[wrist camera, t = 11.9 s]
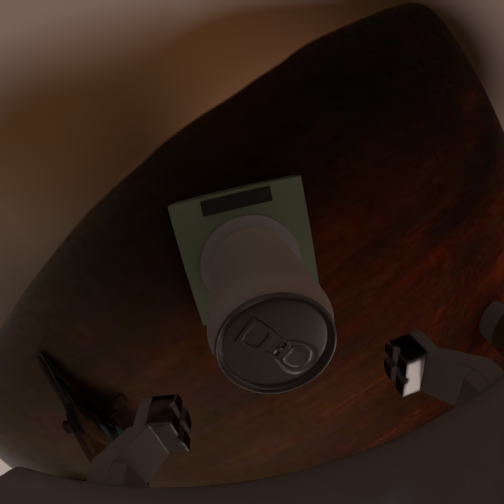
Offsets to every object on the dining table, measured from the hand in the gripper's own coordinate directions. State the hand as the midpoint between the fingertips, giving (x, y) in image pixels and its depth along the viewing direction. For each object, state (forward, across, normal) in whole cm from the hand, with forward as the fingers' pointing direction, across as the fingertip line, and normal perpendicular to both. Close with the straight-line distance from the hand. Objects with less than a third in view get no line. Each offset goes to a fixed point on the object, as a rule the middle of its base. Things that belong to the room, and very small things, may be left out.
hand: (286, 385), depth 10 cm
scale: (+18, 0, 0) cm, 18 cm away
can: (+15, 0, 0) cm, 15 cm away
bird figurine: (+18, +23, +16) cm, 33 cm away
